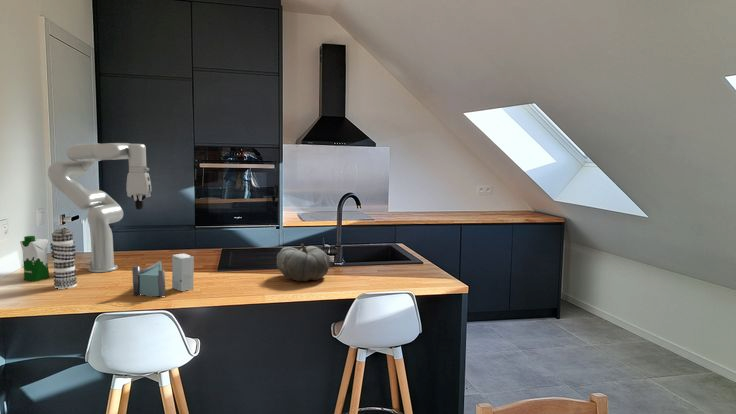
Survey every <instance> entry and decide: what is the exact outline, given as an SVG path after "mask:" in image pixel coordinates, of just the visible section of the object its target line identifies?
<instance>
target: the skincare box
mask: <svg viewBox="0 0 736 414" xmlns="http://www.w3.org/2000/svg"><path fill="white" fill-rule="evenodd" d="M171 263H172V264H171V265H172V269H171V271H172V273H171V275H172V277H171V283H172V284H171V285H172V286H171V288H172V289H173V288H174V289H175V290H176V289H177V291H180V292H181V291H183V292H187V291H186V290H188V291H191V289H192V290H194V277H195V275H194V273H195V271H194V269H195V267H194V265H195V264H194V263H195V257H194V256H192V255H190V254H187V253H184V252H183V253H178V254H177V253H176V254H172V262H171Z"/></svg>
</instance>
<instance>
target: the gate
mask: <svg viewBox="0 0 736 414" xmlns="http://www.w3.org/2000/svg"><path fill="white" fill-rule="evenodd" d="M162 268H163V265H162V261H156V262H155V263H154V264H151V265H149V266H148V267H145V268H143V269H140V274H154V275H158V271H159V270H163V269H162Z"/></svg>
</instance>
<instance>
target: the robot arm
mask: <svg viewBox="0 0 736 414" xmlns="http://www.w3.org/2000/svg"><path fill="white" fill-rule="evenodd" d="M66 156H67V157H68V159H70V160H59V161H55V162H53V163H52V164H50V165H49V166H48V169H47V176H48V179H49V182H50V183H51V184H52V185H53V187H55V188H56V189H57V190H58V191H59V192H60V193H62V194H63V195H64V196H65V197H66V198H67V199H68V200H69V201H70V202H71V203H73V204H74V205H75V206H76V207H77V208H78V209H79V210H81V211H84V212H85V211H87V214H86V220H87V222H88V227H89V233H90V234H89V235H90V249H91V250H90V251H91V260H89V259H88V260H86V262H85V265H86V266H89V267H88V271H89V272H90V273H108V272H113V271H115V270H117V269H118V265H117V264H115V260H114V259H115V257H114V238H113V237H114V236H113V231H112V228H111V227H110V224H113V223H114V224H115V223H117V222H120V221H121V220H122V219H123V217H124V210H123V208H122V207H121V205H120V204H119V203H118V202H117V201H116V200H115V199H113V198H112V197H111V196H110V195H109V194H108V193H107V192H105V191H104V190H100V189H93V190H89V189H87V188H86V187H84V186H83V185H82V184H81V183H79V182H78V181H76V180H74V179H73V178H82V177H83V176H84V175H86V174H87V172H88V171H89V170H90V169H91V168H92V166H93V165H94V164H95V162H100V161H109V160H110V161H111V160H114V161H115V160H128V173H127V176H126V193H127V194H126V196H127V197H129V198H132V199H133V200H134V202H135V205H134V206H135V209H136V210H140V211H141V210H143V208H144V200H145V199H146V198H149V197H151V196H152V195H151V193H152V181H151V178H150V177H151V176H150V174H149V171H150V167H148V166H147V147H146V145H145V144H144V143H131V142H130V143H129V142H108V143H107V142H106V143H97V142H95V143H75V144H72V145H70V146H69V147H68V148H67V149H66Z"/></svg>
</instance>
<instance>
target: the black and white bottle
mask: <svg viewBox="0 0 736 414" xmlns="http://www.w3.org/2000/svg"><path fill="white" fill-rule="evenodd" d="M73 233H74V232H73V231H72V230H71V229H69V228H61V229H60V228H59V229H58V228H57V229H55V230H54V231H53V233H51V235H52V236H51V238H52V241H51V243H50V244H49V245H50V250H52V251H51V258H52V263H53V274H54V275H53V278H54V279H53V282H54V283H53V285H54V289H55V288H58V289H57V290H66V289H65V288H69V289H72V288H71V287H73V288H75V286H76V287H77V286H78V284H77V282H78V281H77V273H76V272H77V269H76V265H75V260H76V257H75V256H76V253H74V252H76V249H75V248H76V245H74V243H75V241H74V238H73V236H74V235H73Z"/></svg>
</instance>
